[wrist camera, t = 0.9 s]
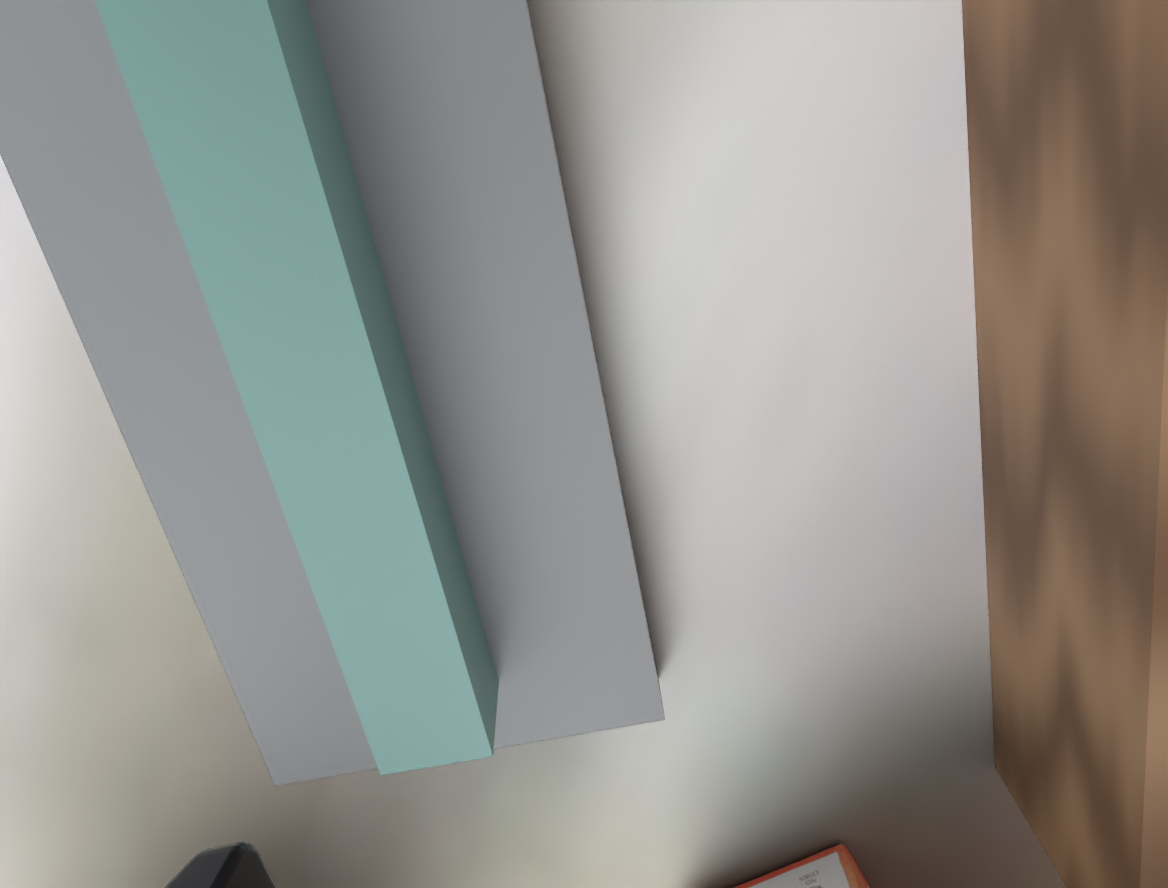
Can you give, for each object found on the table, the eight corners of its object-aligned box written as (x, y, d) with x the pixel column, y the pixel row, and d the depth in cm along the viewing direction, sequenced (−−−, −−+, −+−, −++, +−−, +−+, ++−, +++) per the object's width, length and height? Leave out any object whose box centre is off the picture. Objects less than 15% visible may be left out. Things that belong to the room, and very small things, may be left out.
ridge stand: (658, 680, 24) (677, 796, 21) (290, 744, 25) (244, 868, 21) (483, -226, 16) (463, -301, 12) (-63, -106, 17) (-237, -143, 13)
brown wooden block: (1099, 742, 26) (1278, 975, 20) (992, 762, 26) (1134, 999, 20) (1115, -163, 17) (1455, -277, 11) (952, -123, 17) (1189, -212, 11)
